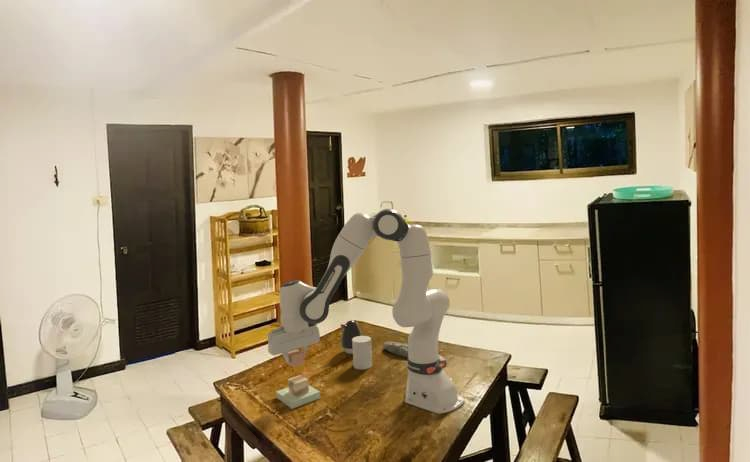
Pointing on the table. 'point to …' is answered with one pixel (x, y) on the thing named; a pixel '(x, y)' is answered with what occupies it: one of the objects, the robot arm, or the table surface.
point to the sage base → (299, 400)
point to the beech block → (298, 385)
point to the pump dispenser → (349, 335)
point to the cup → (362, 352)
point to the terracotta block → (296, 358)
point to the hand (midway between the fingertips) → (295, 359)
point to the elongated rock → (404, 350)
